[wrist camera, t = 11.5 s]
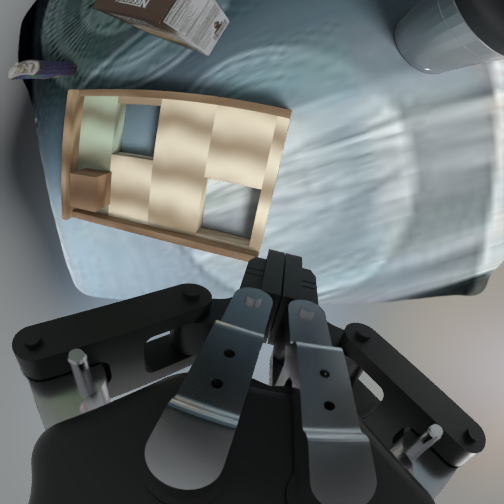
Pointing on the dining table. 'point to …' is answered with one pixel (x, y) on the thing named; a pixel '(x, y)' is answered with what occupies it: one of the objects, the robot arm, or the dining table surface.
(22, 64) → the flask
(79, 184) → the walnut block
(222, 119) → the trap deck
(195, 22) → the coffee box
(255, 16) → the dining table surface
